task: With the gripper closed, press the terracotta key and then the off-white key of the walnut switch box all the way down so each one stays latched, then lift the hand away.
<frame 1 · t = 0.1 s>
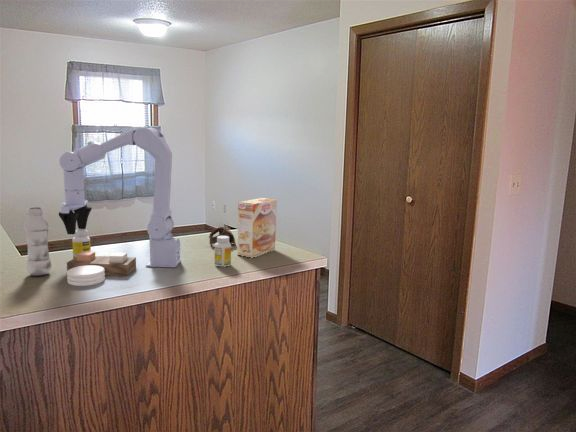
hand: (76, 231, 150), 10 cm above the countertop, tool pointing down, fingers open, 7 cm apart
plastic bottle: (39, 275, 137), on the countertop
key offwhite: (118, 259, 142), point 4 cm above the countertop, slide at 0.0 cm
supplement bottle 2: (222, 265, 153), on the countertop
supplement bottle: (82, 260, 154), on the countertop
dark brown tangled clump: (223, 245, 179), on the countertop
key terracotta: (85, 257, 142), point 4 cm above the countertop, slide at 0.0 cm
coaster: (86, 281, 133), on the countertop
coffeecake box: (256, 253, 169), on the countertop
switch box: (102, 270, 142), on the countertop
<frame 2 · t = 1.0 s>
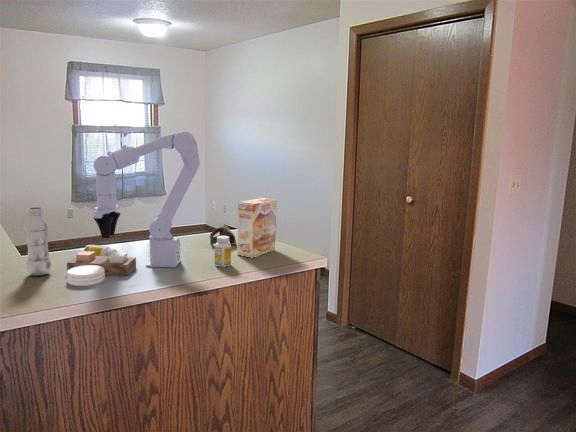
hand: (108, 236, 147), 9 cm above the countertop, tool pointing down, fingers open, 3 cm apart
supplement bottle: (87, 252, 152), point 3 cm above the countertop
everything else where it was.
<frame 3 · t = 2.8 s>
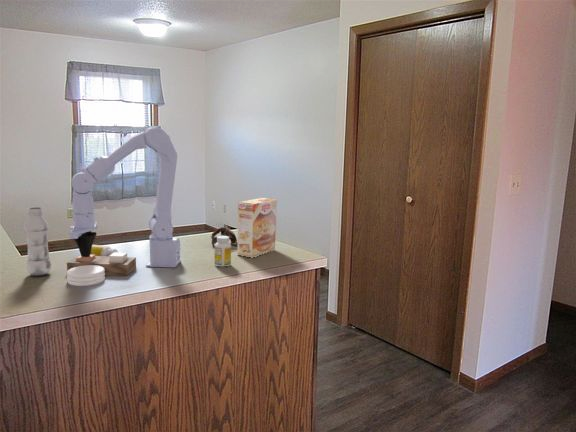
hand: (85, 256, 141), 4 cm above the countertop, tool pointing down, fingers closed, pressing on key terracotta
key terracotta: (86, 260, 142), point 3 cm above the countertop, slide at 1.0 cm, touching gripper
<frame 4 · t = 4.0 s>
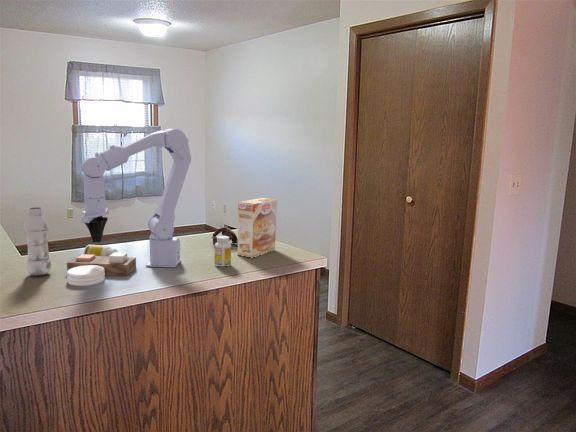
hand: (97, 241, 141), 9 cm above the countertop, tool pointing down, fingers closed
key terracotta: (86, 261, 142), point 3 cm above the countertop, slide at 1.0 cm
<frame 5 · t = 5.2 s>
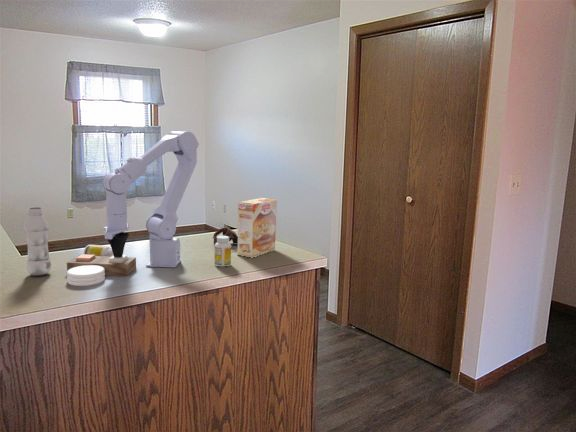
hand: (118, 256, 141), 5 cm above the countertop, tool pointing down, fingers closed, pressing on key offwhite
key offwhite: (118, 261, 142), point 3 cm above the countertop, slide at 0.8 cm, touching gripper
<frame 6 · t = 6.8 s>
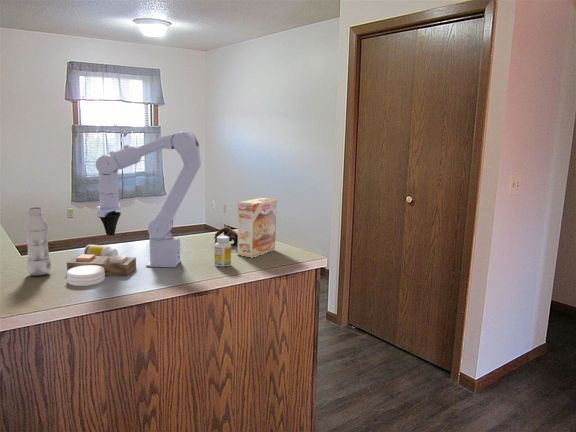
hand: (110, 235, 149), 9 cm above the countertop, tool pointing down, fingers closed
key offwhite: (118, 262, 142), point 3 cm above the countertop, slide at 1.0 cm
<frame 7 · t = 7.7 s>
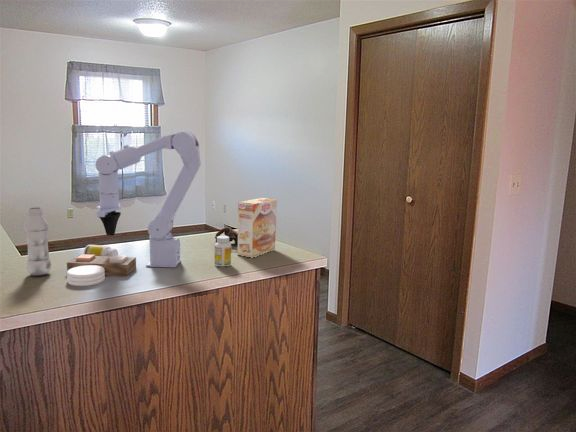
hand: (110, 235, 149), 9 cm above the countertop, tool pointing down, fingers closed
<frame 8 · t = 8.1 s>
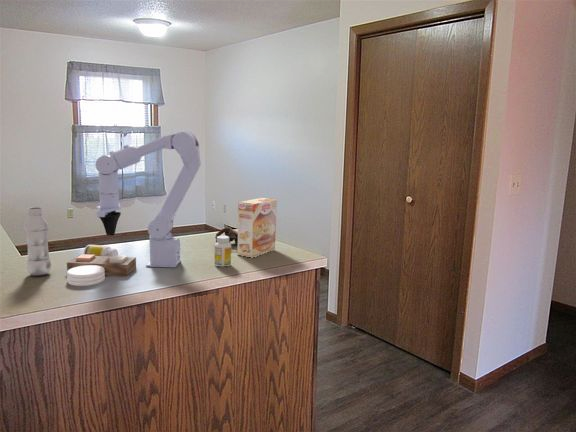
hand: (110, 235, 149), 9 cm above the countertop, tool pointing down, fingers closed
at the end: key terracotta slide at 1.0 cm; key offwhite slide at 1.0 cm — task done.
